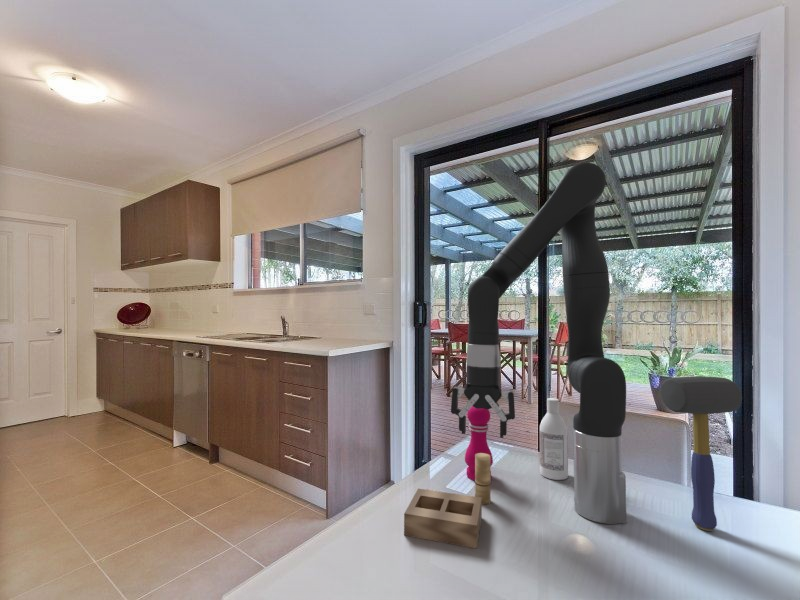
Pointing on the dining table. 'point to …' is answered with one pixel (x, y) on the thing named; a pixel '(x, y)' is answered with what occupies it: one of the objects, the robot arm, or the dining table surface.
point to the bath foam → (553, 443)
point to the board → (444, 517)
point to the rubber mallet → (701, 432)
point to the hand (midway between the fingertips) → (482, 435)
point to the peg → (482, 477)
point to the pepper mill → (477, 438)
